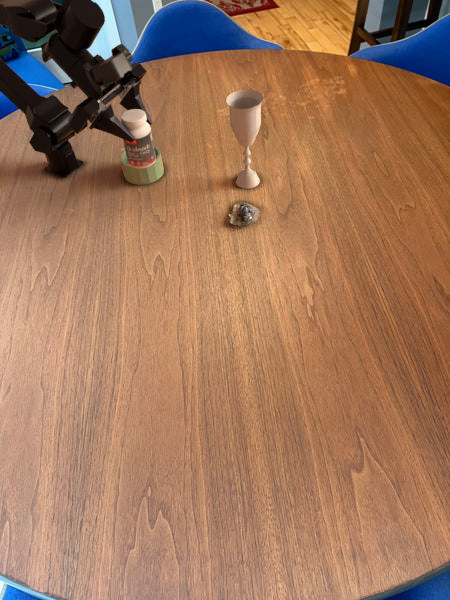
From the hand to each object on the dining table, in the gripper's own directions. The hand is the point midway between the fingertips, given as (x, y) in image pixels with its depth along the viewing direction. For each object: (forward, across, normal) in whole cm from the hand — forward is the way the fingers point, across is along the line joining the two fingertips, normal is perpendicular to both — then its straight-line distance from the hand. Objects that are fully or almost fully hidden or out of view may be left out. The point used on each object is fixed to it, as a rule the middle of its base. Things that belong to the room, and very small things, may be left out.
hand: (142, 132), depth 91 cm
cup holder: (+6, +5, +14) cm, 16 cm away
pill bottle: (+4, 0, +6) cm, 7 cm away
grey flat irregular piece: (+24, 0, -5) cm, 25 cm away
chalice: (+22, +10, -2) cm, 24 cm away
